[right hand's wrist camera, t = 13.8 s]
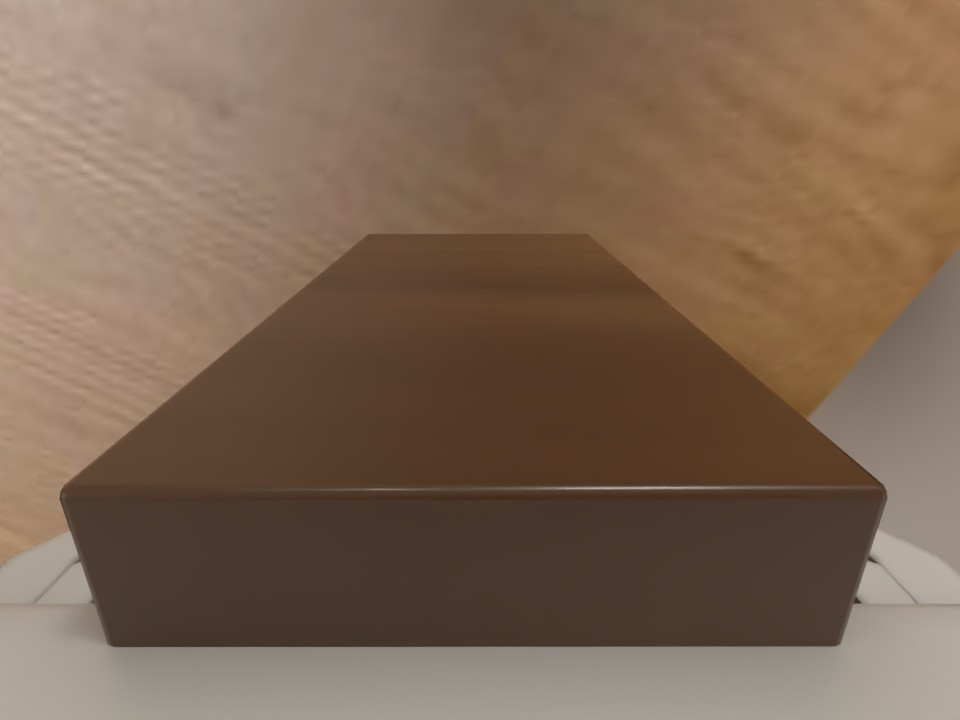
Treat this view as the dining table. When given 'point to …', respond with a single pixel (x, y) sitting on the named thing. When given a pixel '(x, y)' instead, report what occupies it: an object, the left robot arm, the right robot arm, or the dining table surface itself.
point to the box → (474, 472)
